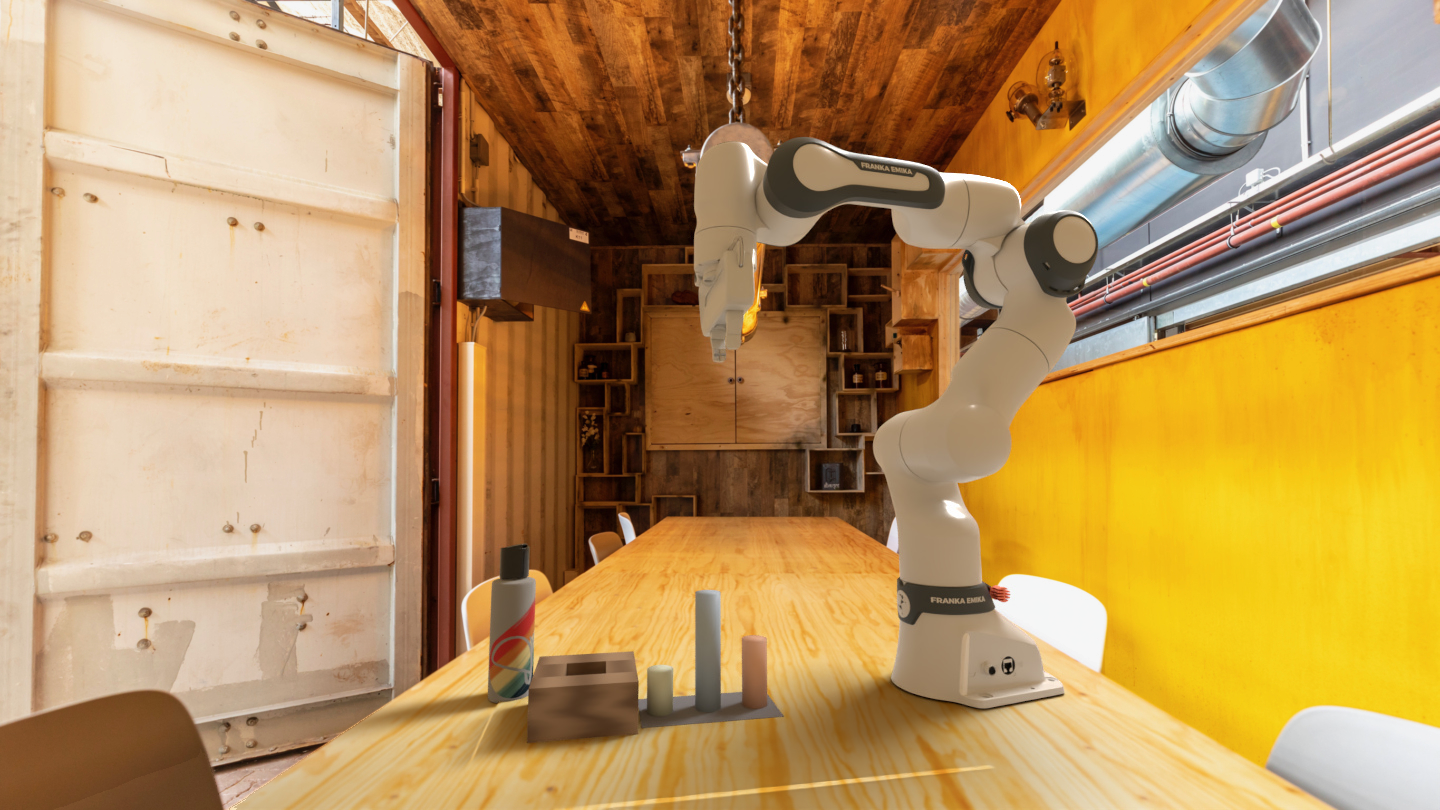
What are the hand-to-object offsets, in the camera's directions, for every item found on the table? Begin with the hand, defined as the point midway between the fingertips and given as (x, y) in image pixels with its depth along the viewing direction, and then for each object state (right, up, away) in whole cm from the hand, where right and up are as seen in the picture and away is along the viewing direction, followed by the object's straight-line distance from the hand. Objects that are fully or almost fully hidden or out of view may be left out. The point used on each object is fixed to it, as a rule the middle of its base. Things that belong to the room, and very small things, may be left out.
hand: (725, 355), depth 84 cm
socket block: (-17, -45, -11) cm, 49 cm away
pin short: (-8, -44, -9) cm, 46 cm away
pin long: (-2, -45, -8) cm, 45 cm away
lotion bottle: (-29, -46, -3) cm, 54 cm away
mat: (-2, -45, -8) cm, 46 cm away
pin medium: (+4, -45, -7) cm, 45 cm away
